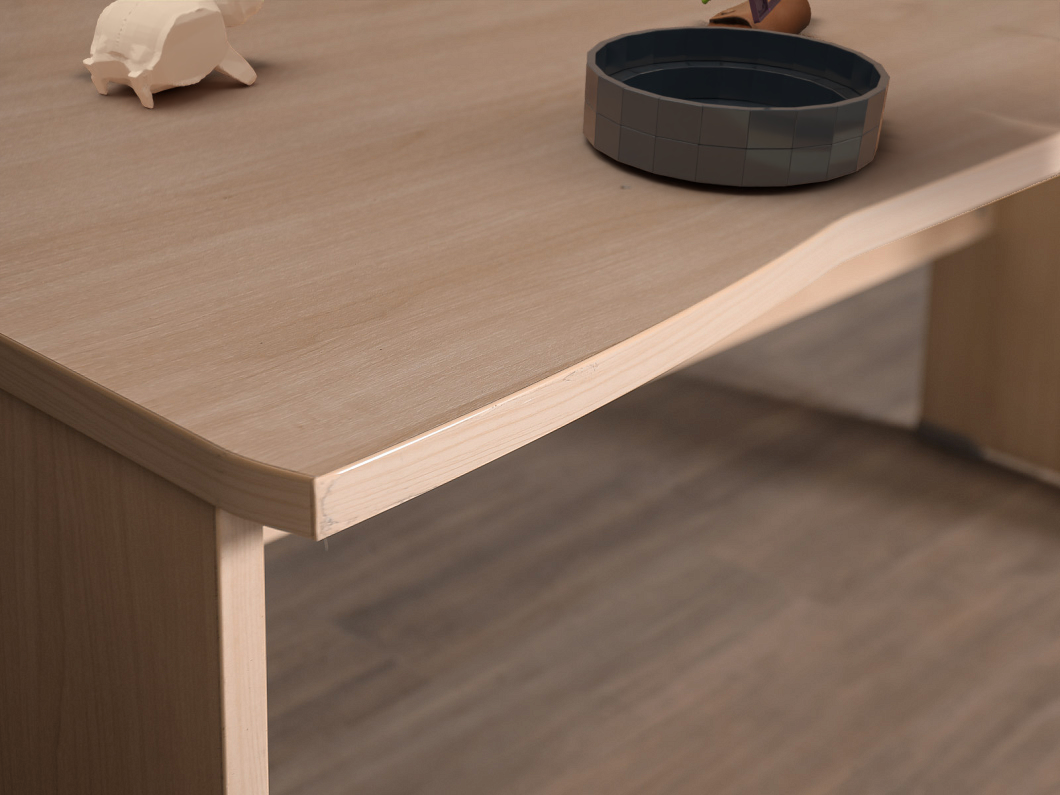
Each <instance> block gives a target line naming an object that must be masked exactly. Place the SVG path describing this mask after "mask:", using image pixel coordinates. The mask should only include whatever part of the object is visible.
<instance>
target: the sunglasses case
mask: <svg viewBox="0 0 1060 795" xmlns="http://www.w3.org/2000/svg"><path fill="white" fill-rule="evenodd" d="M769 1H770V0H768V2H769ZM811 20H812V8H811V4H810V2H809V0H781V1H780V2H779V3H778V4H777V5H776V6H775V8H774V9H773V10H772V11H771V12H770V13H769V14H768V15H767V16H766V17H765V18H764V19H763V20H762V21H761V22H760V23H756V24H754V22H753V17H752V13H751V8H750V4H749V0H746V1H743V2H741V3H739V4H737V5H734V6H731V7H729V8H726V9H723V10H721V11H720V12H718V13H717V14H714V15H713V16H712V17H711V18H709V20H708V21H709V22H708V24H707V25H706V26H718V27H736V28H749V29H762V30H769V31H776V32H783V33H789V34H796V35H801V33H802V32H803V31H804V30H805V29H806V28H808V26H809V25H810V22H811Z"/></svg>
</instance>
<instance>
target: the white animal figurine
mask: <svg viewBox="0 0 1060 795" xmlns="http://www.w3.org/2000/svg"><path fill="white" fill-rule="evenodd" d="M264 3H265V0H115V1H114V2H113V1H112V2H111V3H110V4H108V5H107V6H106V7H104V9H103V10H102V12H101V13H100V14H99V17H98V18H97V23H96V25H95V28H94V34H93V39H92V42H91V45H90V52H89V54H90V57H87V58H85V59H83V60H82V63H83V64H82V65H84V67H85V68H86V70H88V71H89V73H90V74H91V76H90V79H91V81H92V83H93V84H94V86H95V88H96V90H97V93H99V94H100V95H108V84H109V83H110V82H111V83H114V84H117V85H118V84H119V85H124V86H125V85H126V86H128V87H130V88H132V89H133V91H134V93H135V94H136V95H137V97H138V98H139V100H140V102H141V104H142V106H143V107H145V108H148V109H153V108H154V100H153V94H156V93H159V92H163V91H167V90H171V89H175V88H178V87H185V86H190V85H195V84H197V83H199V82H201V80H203V79H205V78H206V76H207V75H210V74H211V72H212V71H215V72H218V73H220V74H223V75H224V76H227V77H229V78H231V79H233V80H236V81H237V82H241V83H243V84H245V85H247V86H251V85H253V83H255V82H256V79H257V77H258V75H257V73H256V72H255V69H254V68H253V66H252V65H250V64H249V62H248V61H247V60H246V59H245V58H244V57H243V56H242V55H241V54H240V53H239V52H237V51H236V50H235V49H234V48H233V46H231V44H230V43H229V41H228V38H227V37H228V36H227V30H226V29H227V28H233V27H235V26H236V27H237V26H241V25H243V24H245V23H246V21H247V20H248V19H249V18H250V17H251V16H254V15H256V14H257V13H259V11H260V10H261V8H262V7H263V5H264Z"/></svg>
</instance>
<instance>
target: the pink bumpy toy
mask: <svg viewBox="0 0 1060 795" xmlns="http://www.w3.org/2000/svg"><path fill="white" fill-rule="evenodd" d="M710 1H711V2H712V0H701V4H703V5H707V4H708V3H709V2H710ZM780 1H781V0H770V1H769V2H768V0H749V4H750V8H751V13H752V17H753V22H754V24H756V23H760V22H761V21H762V20H763V19H764V18H765V17H766V16H767V15H768V14H769V13H770V12H771V11H772V10H773V9H774V8H775V6H776V5H777V4H778V3H779V2H780Z"/></svg>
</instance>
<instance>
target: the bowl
mask: <svg viewBox="0 0 1060 795" xmlns="http://www.w3.org/2000/svg"><path fill="white" fill-rule="evenodd" d="M585 66H586V67H585V82H584V83H585V86H584V105H583V122H582V134H583V136H584V137H585V138H586V140H588V142H589V143H590V144H591V145H592V147H593V148H594V149H595V150H597V151H599V152H601V153H603V154H604V155H606V156H608V157H609V158H611V159H613V160H615V161H616V162H619V163H622V164H625V165H627V166H631V167H634V168H637V169H639V170H642V171H646V172H648V173H653V174H655V175H659V176H665V177H668V178H671V179H672V178H673V179H676V180H681V181H685V182H691V183H698V184H704V185H712V186H722V187H737V188H738V187H740V188H770V187H789V186H796V185H797V186H798V185H804V184H814V183H821V182H827V181H830V180H834V179H837V178H841V177H845V176H847V175H850V174H853V173H857V172H859V171H860V170H861V169H862V168H864V167H865V166H867V165H868V164H870V163H872V162H873V161H874V159H875V156H876V153H877V150H878V147H879V142H880V136H881V131H882V125H883V119H884V112H885V109H886V101H887V96H888V91H889V85H890V81H891V80H890V79H891V76H890V74H889V73H888V72H887V70H886V69H885V67H884V66H883V64H881V63H880V62H878V61H876V60H875V59H873V58H871V57H870V56H869V55H866V54H864V53H863V52H861V51H858V50H855V49H852V48H849V47H847V46H844V45H841V44H838V43H836V42H832V41H827V40H823V39H819V38H815V37H810V36H806V35H802V34H799V35H796V34H789V33H783V32H776V31H769V30H762V29H749V28H736V27H718V26H707V25H704V26H703V25H699V26H698V25H696V26H694V25H693V26H692V25H689V26H687V25H686V26H684V25H683V26H671V27H658V28H648V29H641V30H637V31H631V32H626V33H625V32H624V33H620V34H618V35H616V36H613V37H609V38H607V39H605V40H601V41H599V42H598V43H596V44H595V45H594V46H593V47H591V48H590V49H589V50H588V51H587V52H586V64H585Z"/></svg>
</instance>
